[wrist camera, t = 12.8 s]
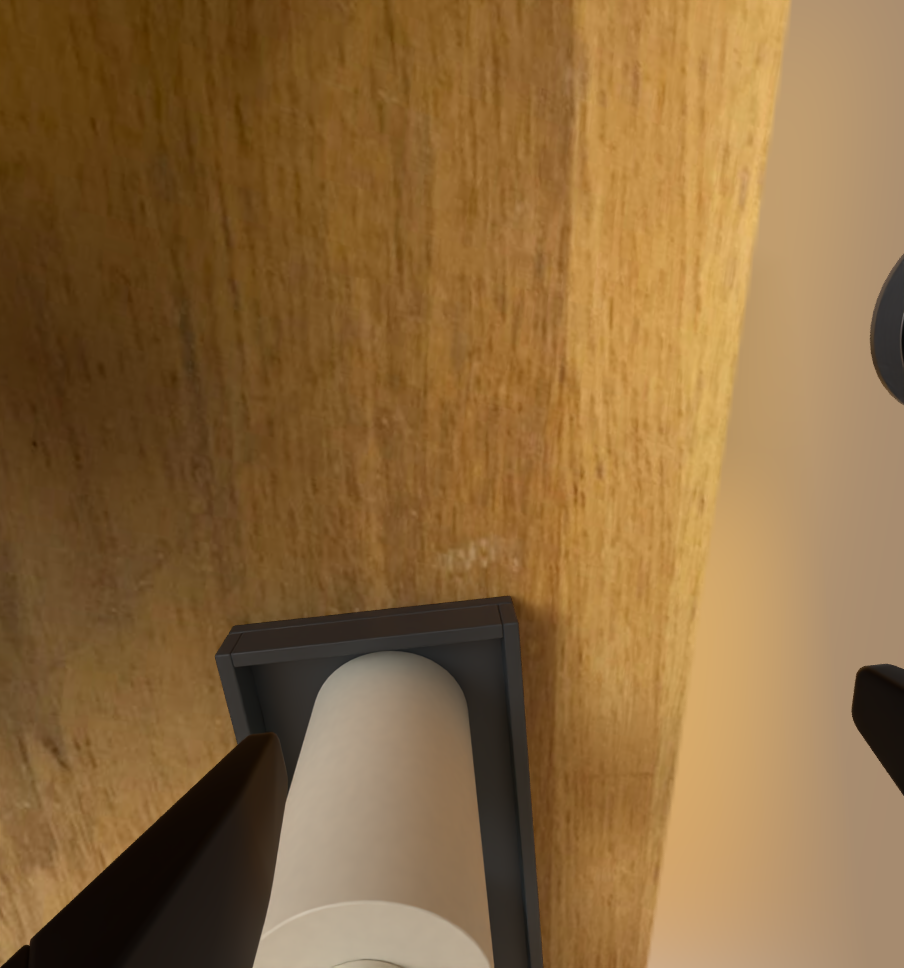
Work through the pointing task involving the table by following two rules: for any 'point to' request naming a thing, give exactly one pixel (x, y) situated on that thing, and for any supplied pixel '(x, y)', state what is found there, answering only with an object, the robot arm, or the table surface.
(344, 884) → the cream bottle
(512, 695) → the tray
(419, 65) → the table surface
